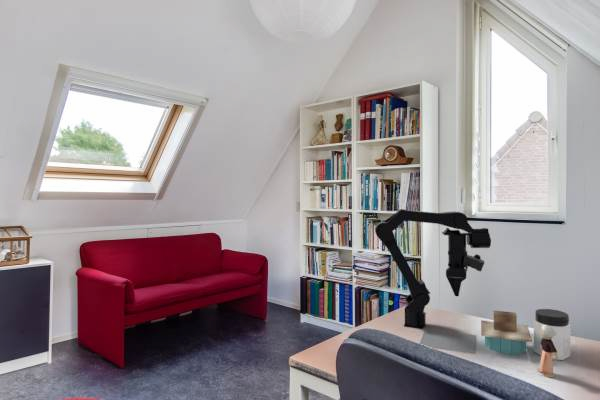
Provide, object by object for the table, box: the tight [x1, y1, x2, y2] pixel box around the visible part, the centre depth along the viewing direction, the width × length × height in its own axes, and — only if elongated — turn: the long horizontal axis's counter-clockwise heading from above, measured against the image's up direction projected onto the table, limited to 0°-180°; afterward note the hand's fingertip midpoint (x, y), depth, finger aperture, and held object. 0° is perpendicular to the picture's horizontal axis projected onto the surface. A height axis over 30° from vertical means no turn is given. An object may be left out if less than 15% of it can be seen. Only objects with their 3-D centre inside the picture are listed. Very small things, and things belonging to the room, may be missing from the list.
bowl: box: [484, 336, 527, 355], centre depth 121 cm, size 11×11×5 cm
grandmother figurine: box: [537, 325, 558, 378], centre depth 103 cm, size 8×4×13 cm, turn 5°
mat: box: [419, 328, 477, 355], centre depth 126 cm, size 16×16×1 cm
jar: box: [533, 308, 571, 361], centre depth 116 cm, size 9×8×12 cm
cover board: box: [480, 310, 533, 343], centre depth 120 cm, size 13×13×6 cm
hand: (457, 292), depth 139 cm, fingers open, 9 cm apart
